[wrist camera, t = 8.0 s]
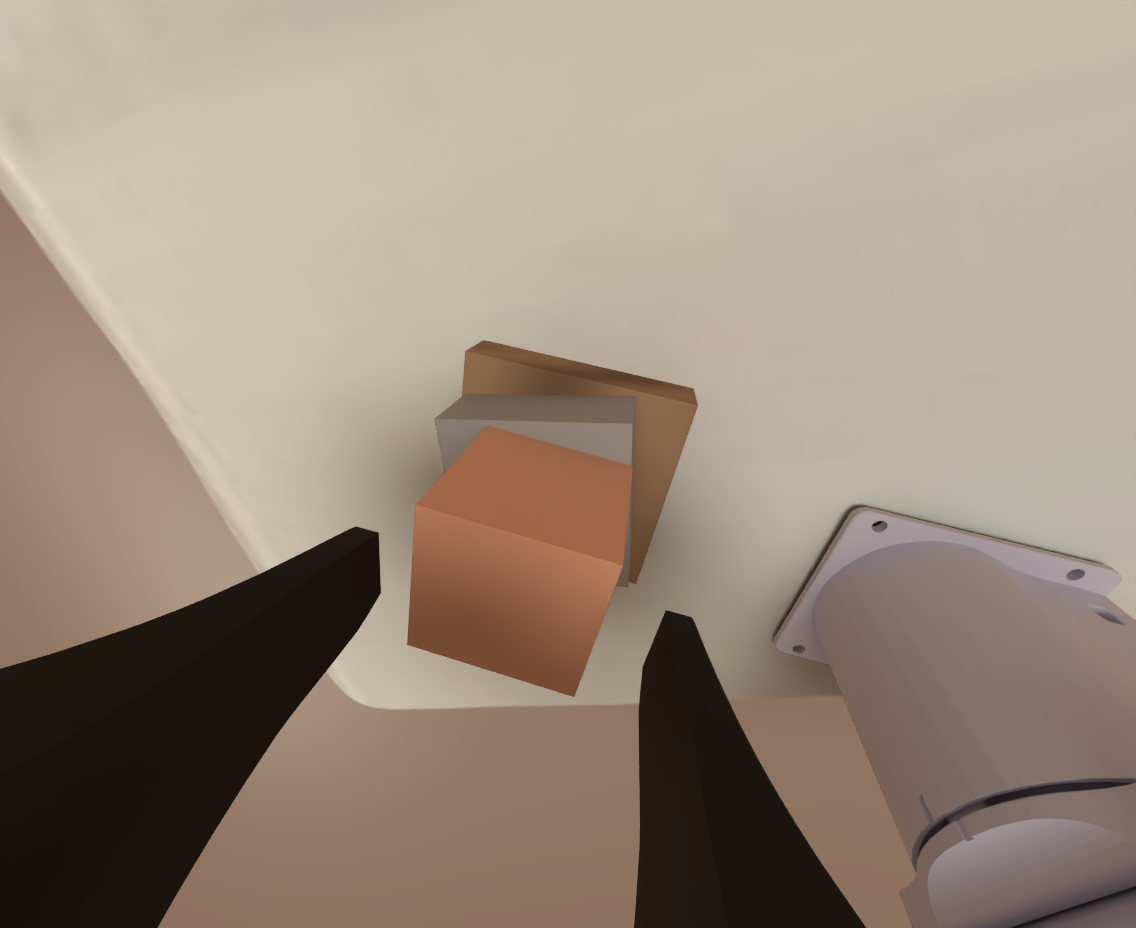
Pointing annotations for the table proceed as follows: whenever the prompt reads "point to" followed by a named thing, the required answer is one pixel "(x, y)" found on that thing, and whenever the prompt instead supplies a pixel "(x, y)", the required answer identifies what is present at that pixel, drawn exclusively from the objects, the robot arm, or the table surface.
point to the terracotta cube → (519, 557)
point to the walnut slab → (657, 405)
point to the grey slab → (547, 430)
